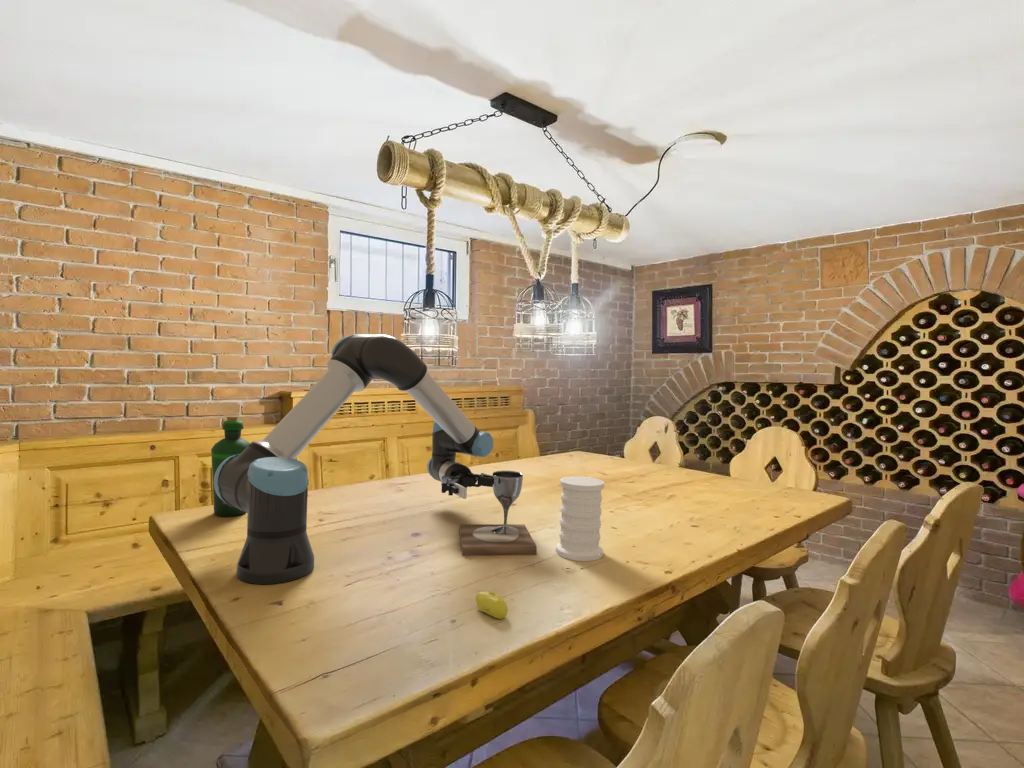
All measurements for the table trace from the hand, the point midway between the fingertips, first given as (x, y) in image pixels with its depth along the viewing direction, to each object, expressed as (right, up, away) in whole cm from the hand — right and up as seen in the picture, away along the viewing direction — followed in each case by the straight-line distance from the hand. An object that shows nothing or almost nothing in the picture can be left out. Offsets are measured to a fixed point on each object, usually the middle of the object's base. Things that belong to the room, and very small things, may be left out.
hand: (488, 491), depth 142 cm
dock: (+2, -12, -4) cm, 13 cm away
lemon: (+2, -14, -44) cm, 46 cm away
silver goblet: (+4, -10, -2) cm, 11 cm away
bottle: (-75, -9, +12) cm, 76 cm away
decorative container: (+23, -14, -9) cm, 28 cm away
